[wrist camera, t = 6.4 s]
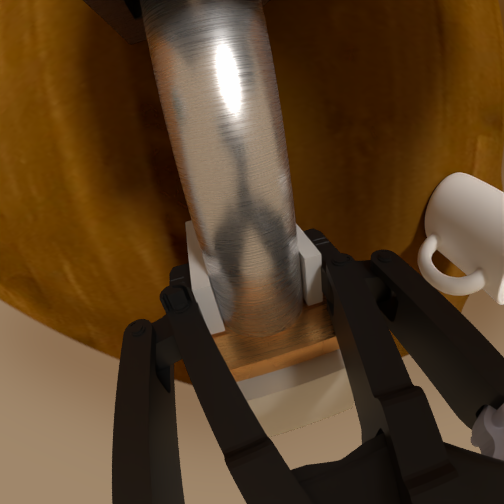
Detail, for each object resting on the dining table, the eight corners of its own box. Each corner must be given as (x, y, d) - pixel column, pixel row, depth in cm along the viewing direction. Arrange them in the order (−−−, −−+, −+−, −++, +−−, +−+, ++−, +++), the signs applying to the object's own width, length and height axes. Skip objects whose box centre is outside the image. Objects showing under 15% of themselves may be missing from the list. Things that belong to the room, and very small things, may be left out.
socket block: (190, 266, 21) (212, 409, 11) (284, 240, 22) (362, 361, 12) (208, 315, 24) (236, 445, 14) (290, 292, 25) (352, 407, 15)
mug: (397, 277, 27) (460, 347, 19) (384, 210, 23) (473, 281, 14) (472, 222, 27) (537, 271, 18) (470, 157, 22) (552, 200, 14)
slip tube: (116, -7, 8) (77, -65, 3) (255, -32, 9) (309, -94, 3) (210, 331, 19) (228, 416, 14) (304, 304, 20) (345, 378, 14)
